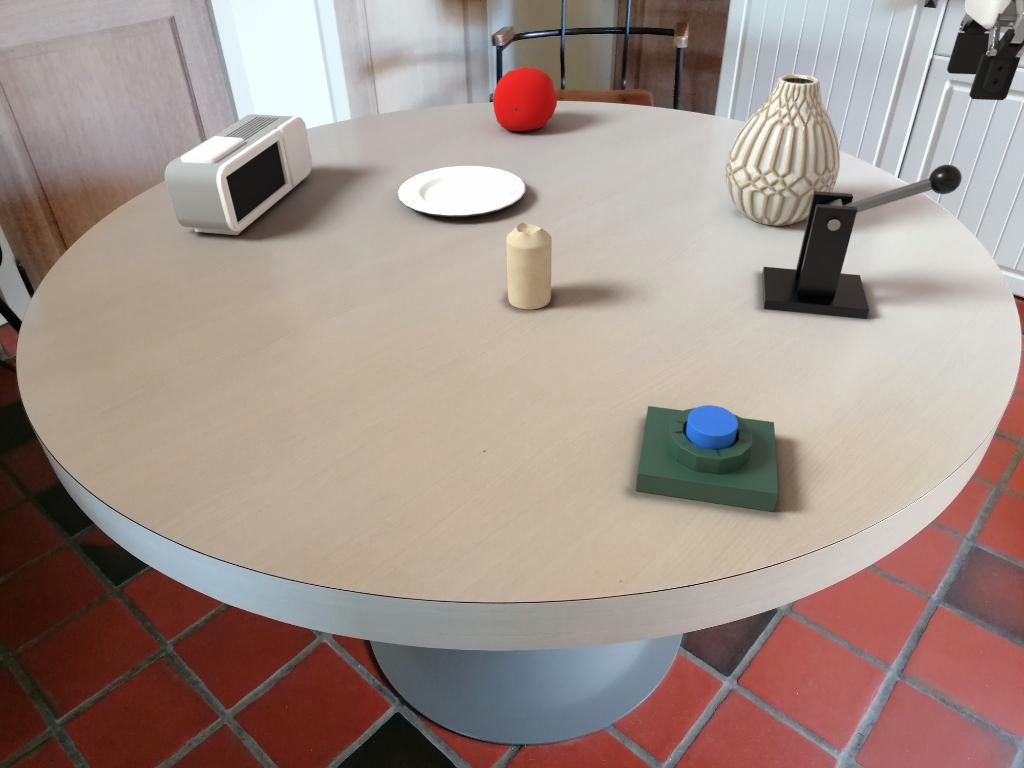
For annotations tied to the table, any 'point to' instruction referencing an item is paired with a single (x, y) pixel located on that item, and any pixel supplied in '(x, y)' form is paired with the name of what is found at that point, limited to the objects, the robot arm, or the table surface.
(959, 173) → the lever
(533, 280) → the candle
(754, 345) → the table surface
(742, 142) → the vase
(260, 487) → the table surface
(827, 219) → the switch bracket
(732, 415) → the button
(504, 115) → the tomato
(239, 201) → the alarm clock
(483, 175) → the plate
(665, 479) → the switch box
